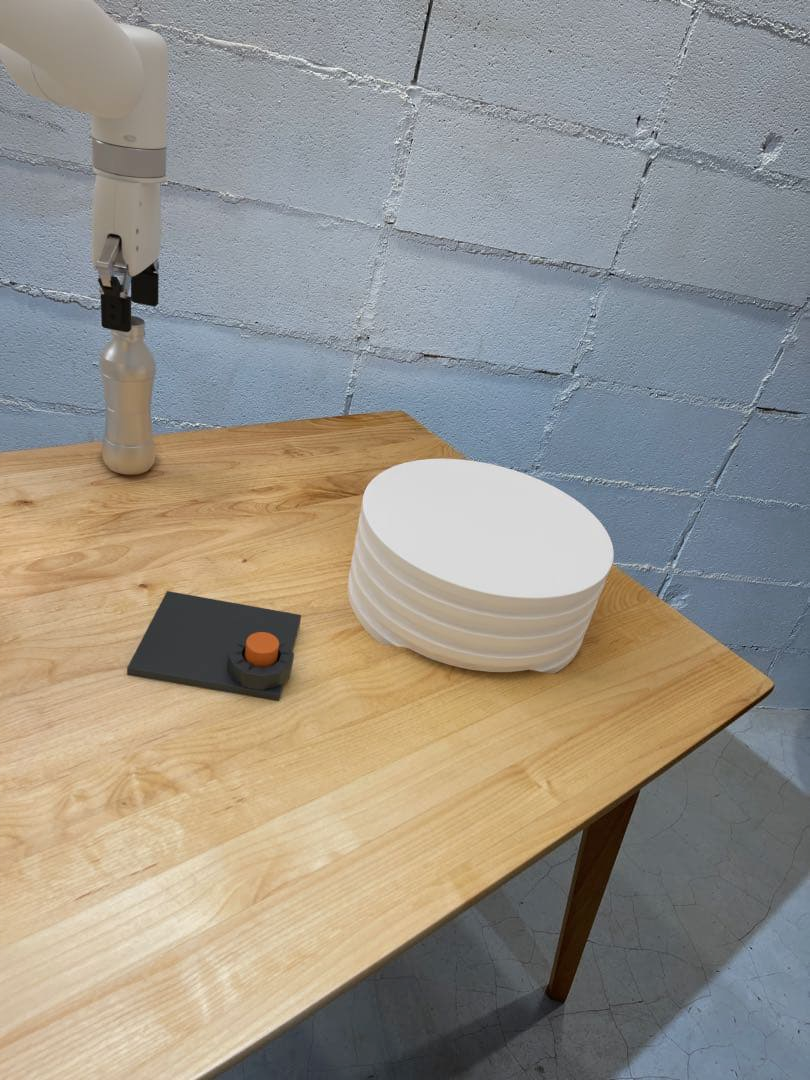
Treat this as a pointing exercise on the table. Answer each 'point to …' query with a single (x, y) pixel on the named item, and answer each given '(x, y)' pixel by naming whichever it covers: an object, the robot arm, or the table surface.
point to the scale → (214, 646)
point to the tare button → (261, 649)
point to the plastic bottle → (128, 401)
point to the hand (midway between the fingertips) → (131, 316)
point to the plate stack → (477, 566)
